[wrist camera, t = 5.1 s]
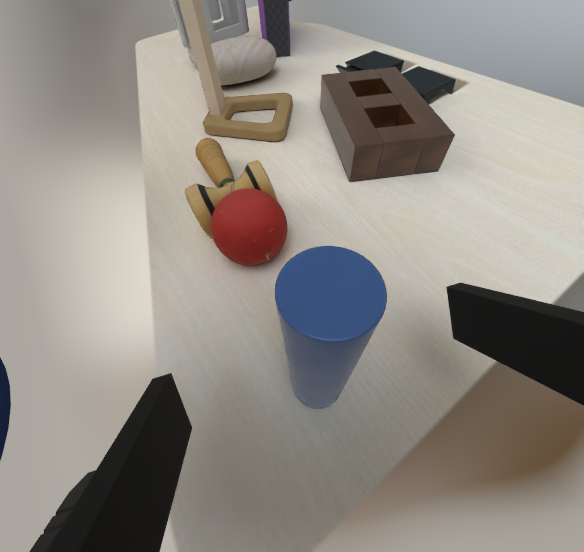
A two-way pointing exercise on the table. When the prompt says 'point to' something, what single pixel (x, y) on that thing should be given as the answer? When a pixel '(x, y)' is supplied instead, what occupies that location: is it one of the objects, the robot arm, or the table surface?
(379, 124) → the rack
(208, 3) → the cable organizer
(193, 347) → the table surface
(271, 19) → the cereal box
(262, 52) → the decorative stone
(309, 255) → the peg
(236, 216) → the kendama
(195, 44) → the headphone stand
